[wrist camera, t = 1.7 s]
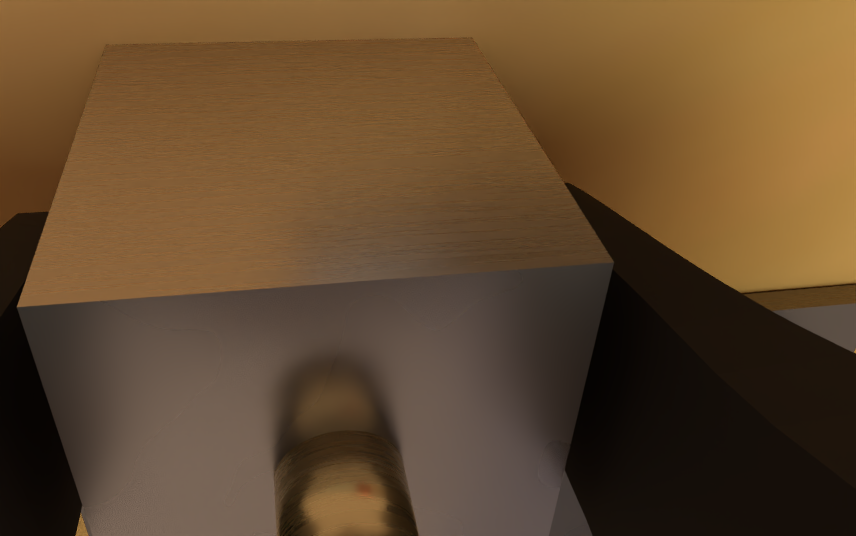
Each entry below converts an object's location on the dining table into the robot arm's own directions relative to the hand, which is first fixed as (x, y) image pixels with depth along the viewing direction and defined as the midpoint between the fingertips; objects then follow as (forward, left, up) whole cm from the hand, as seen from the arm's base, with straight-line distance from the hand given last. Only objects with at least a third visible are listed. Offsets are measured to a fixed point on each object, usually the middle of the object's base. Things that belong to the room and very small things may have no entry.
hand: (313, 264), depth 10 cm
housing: (0, 0, -2) cm, 2 cm away
